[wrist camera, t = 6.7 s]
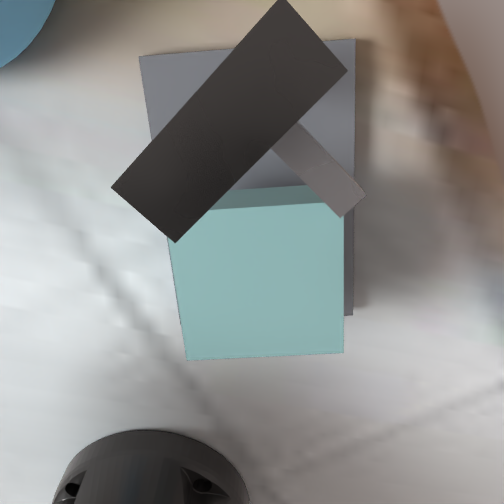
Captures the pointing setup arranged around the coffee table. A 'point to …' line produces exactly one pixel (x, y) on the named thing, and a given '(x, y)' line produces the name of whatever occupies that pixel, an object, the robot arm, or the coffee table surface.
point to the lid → (262, 276)
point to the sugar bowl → (20, 25)
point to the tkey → (243, 128)
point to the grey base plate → (270, 164)
